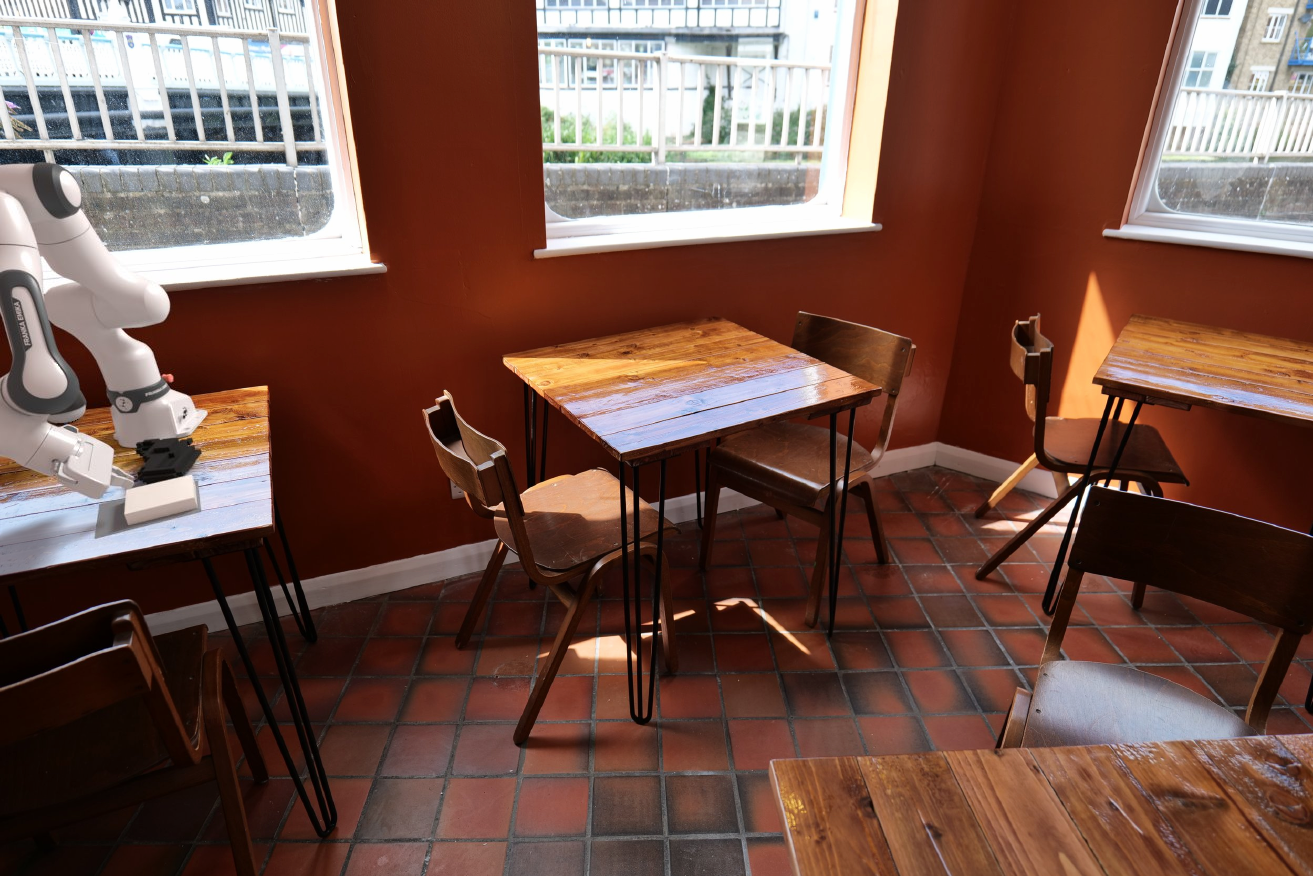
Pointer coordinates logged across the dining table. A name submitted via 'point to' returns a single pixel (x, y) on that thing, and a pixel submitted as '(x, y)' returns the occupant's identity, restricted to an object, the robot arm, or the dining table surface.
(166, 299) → the robot arm
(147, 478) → the tool
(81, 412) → the penguin toy figure
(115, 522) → the mat
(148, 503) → the tile
